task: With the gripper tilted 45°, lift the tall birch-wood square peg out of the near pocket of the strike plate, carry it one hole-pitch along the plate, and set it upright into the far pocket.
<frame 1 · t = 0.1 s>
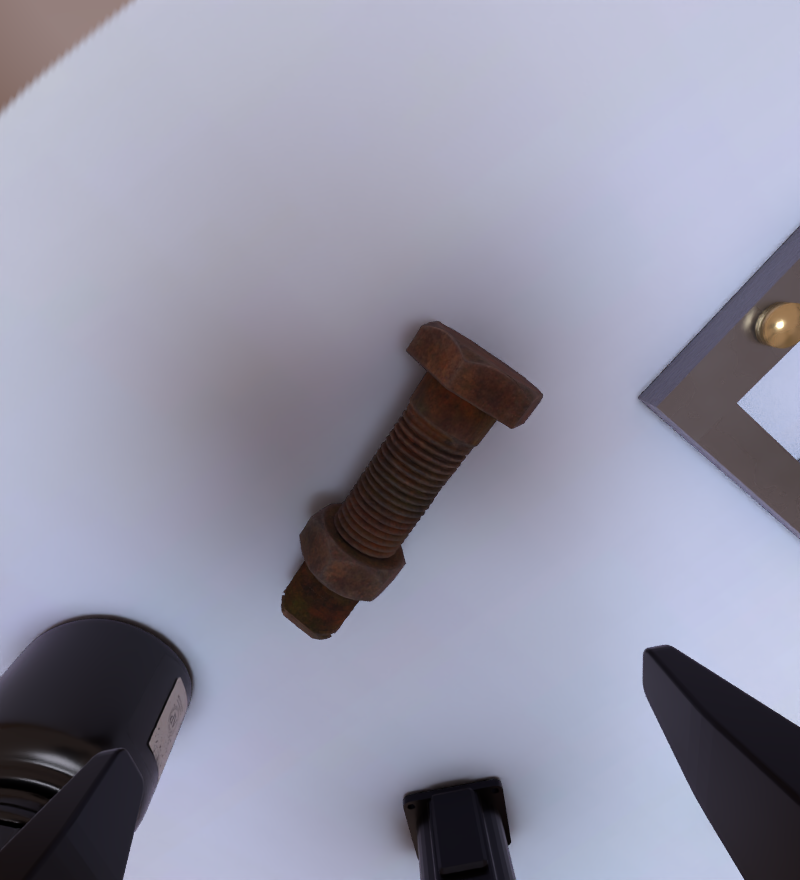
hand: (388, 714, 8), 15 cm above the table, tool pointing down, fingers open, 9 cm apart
bolt: (384, 474, 23), on the table
ink bottle: (113, 675, 26), on the table
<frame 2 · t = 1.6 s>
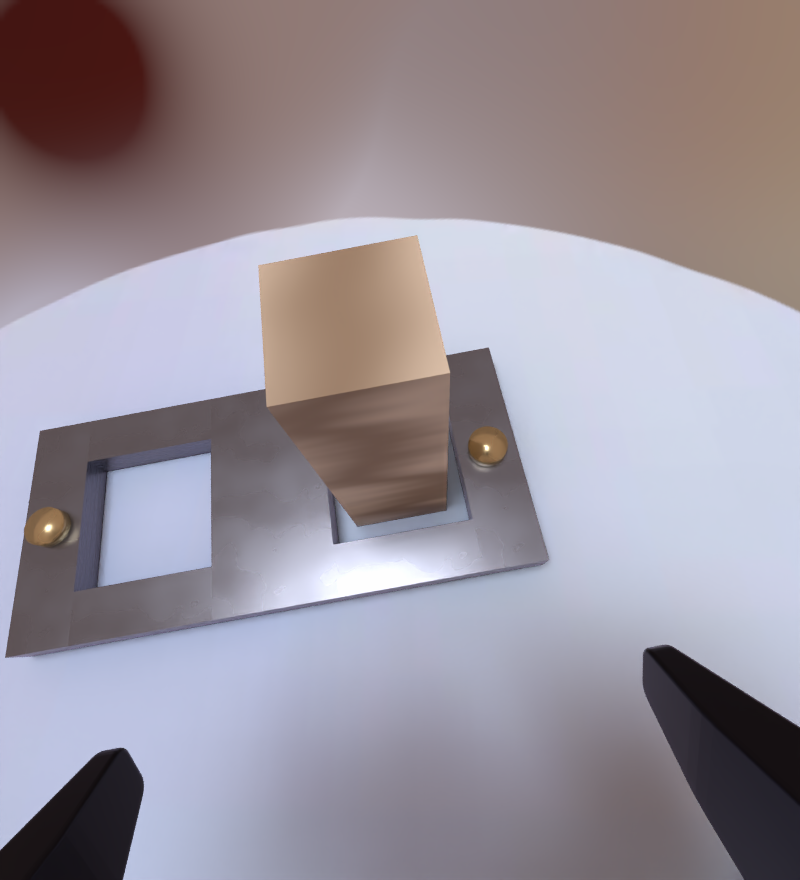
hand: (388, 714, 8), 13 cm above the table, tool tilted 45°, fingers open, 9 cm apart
birch peg: (394, 476, 24), resting in strike plate
strike plate: (278, 497, 24), on the table
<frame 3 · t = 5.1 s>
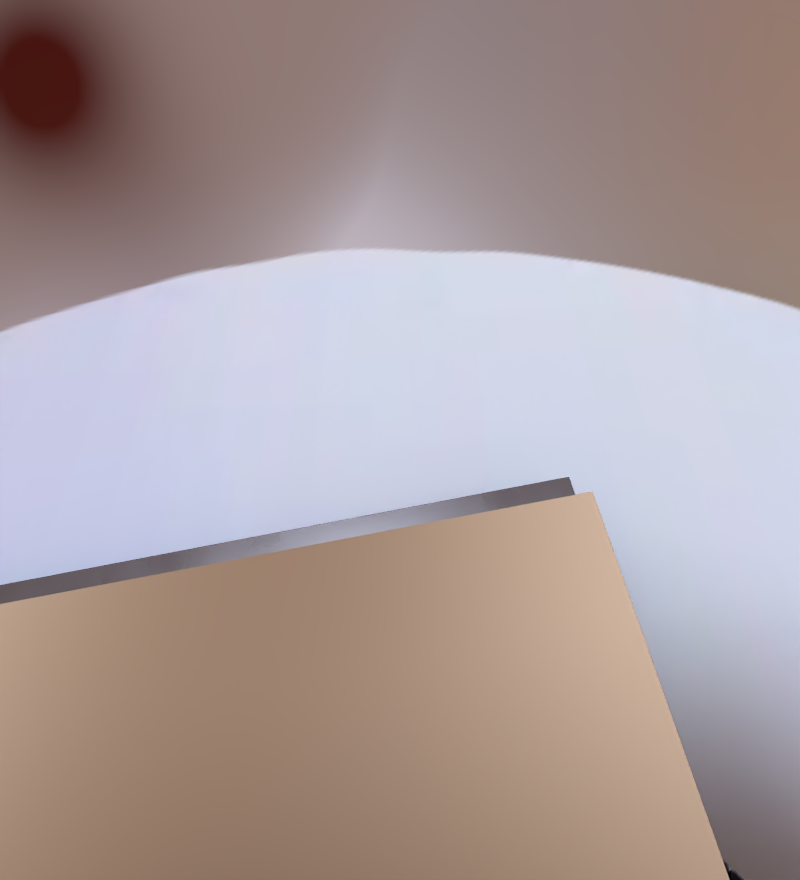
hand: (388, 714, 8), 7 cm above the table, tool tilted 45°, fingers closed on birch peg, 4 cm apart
birch peg: (414, 705, 14), resting in strike plate, touching gripper
strike plate: (214, 743, 14), on the table
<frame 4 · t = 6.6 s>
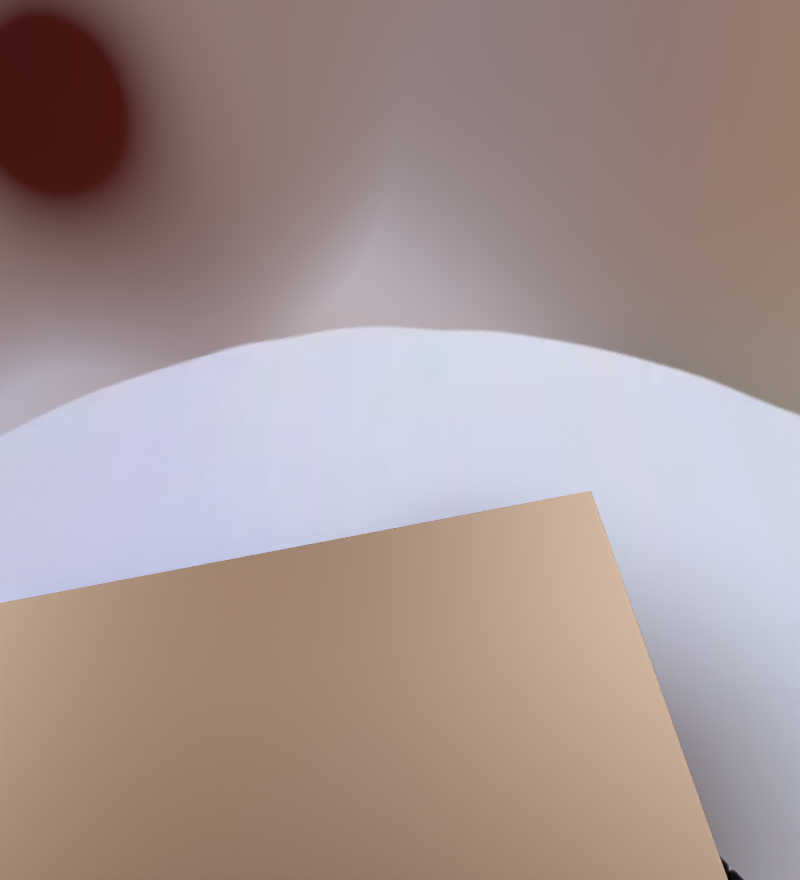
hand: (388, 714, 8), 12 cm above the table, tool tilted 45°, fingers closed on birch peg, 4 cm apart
birch peg: (414, 705, 14), point 6 cm above the table, touching gripper
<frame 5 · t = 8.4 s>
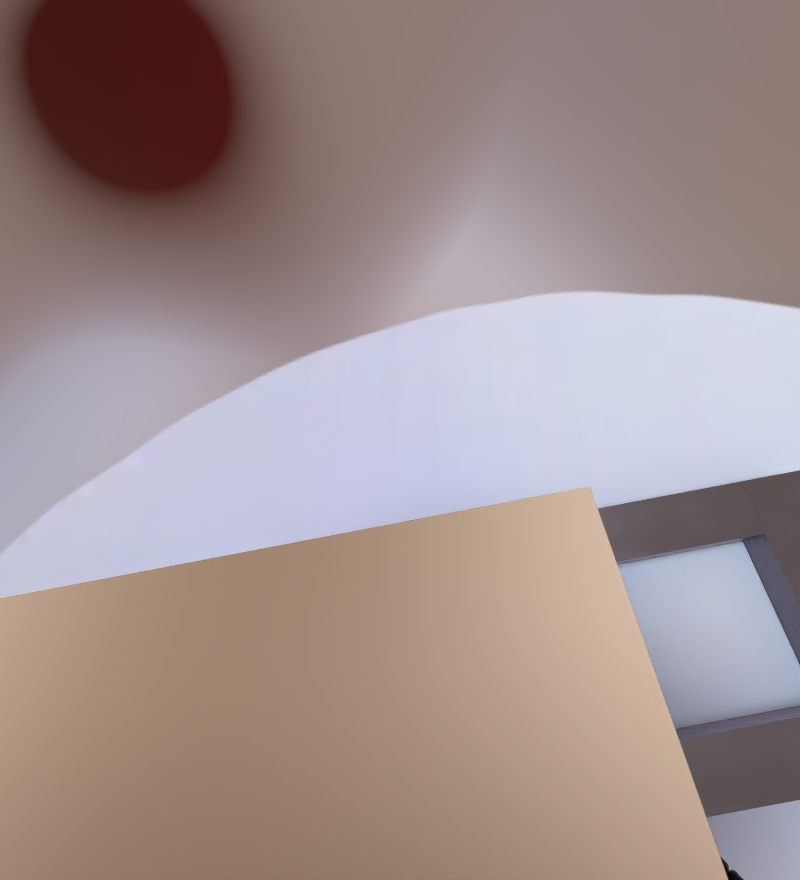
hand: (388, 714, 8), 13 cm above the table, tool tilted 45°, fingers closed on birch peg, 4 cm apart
birch peg: (414, 704, 14), point 6 cm above the table, touching gripper
strike plate: (561, 657, 20), on the table
when the fingers open (7 cm above the table, at t = 10.3 s): birch peg stays where it is, resting in strike plate.
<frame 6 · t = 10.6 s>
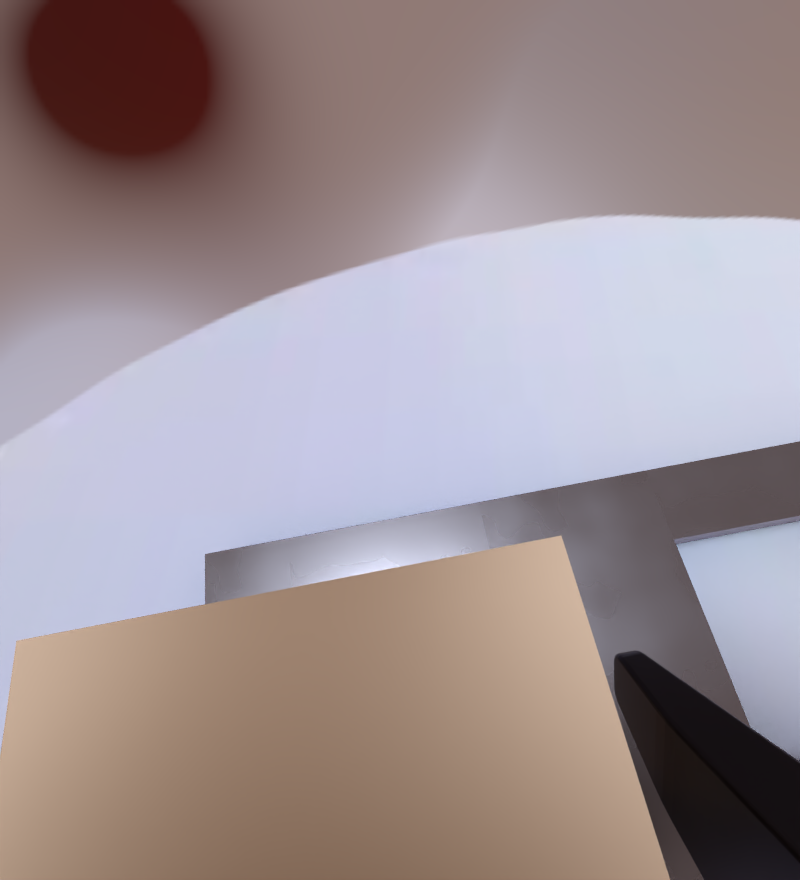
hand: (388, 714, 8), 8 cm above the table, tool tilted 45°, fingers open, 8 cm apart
birch peg: (416, 703, 15), resting in strike plate
strike plate: (604, 666, 15), on the table
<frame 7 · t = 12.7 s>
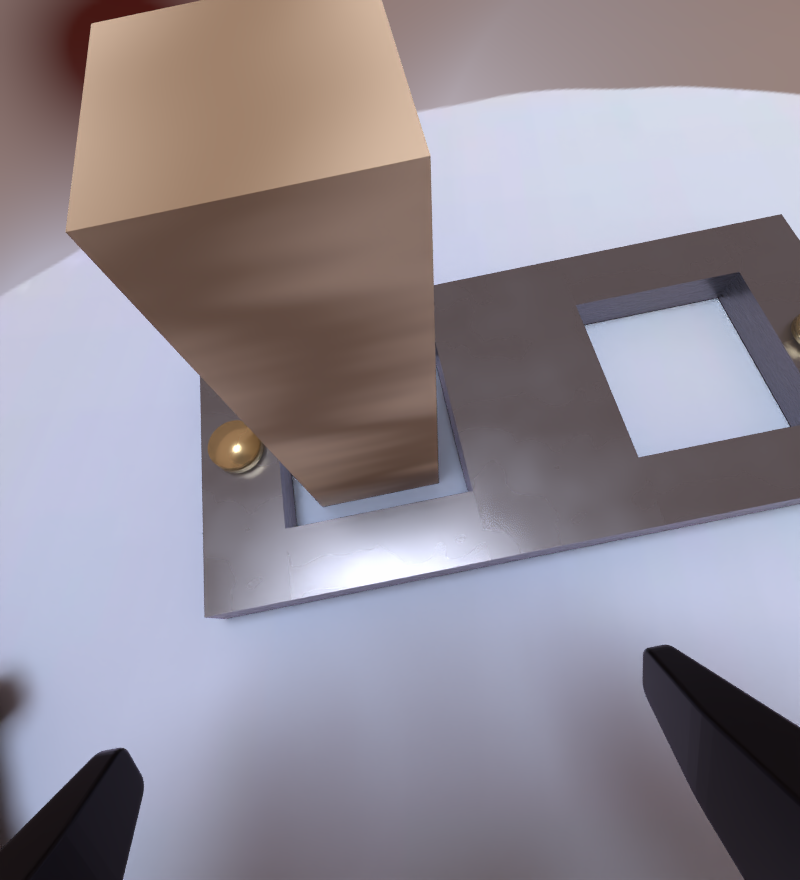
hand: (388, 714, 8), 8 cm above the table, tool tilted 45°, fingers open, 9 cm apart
birch peg: (371, 441, 18), resting in strike plate
strike plate: (521, 409, 18), on the table
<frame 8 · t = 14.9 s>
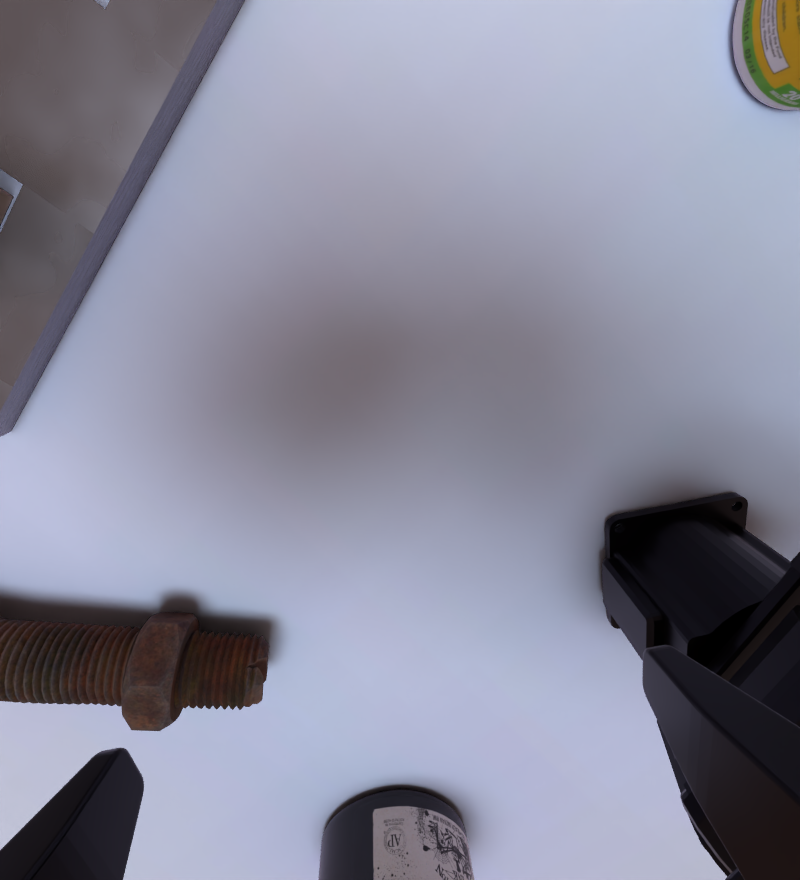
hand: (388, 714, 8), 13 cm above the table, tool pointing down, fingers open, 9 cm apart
bolt: (119, 624, 23), on the table
ink bottle: (393, 827, 30), on the table
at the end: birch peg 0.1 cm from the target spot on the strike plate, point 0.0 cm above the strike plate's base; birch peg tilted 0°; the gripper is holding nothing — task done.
